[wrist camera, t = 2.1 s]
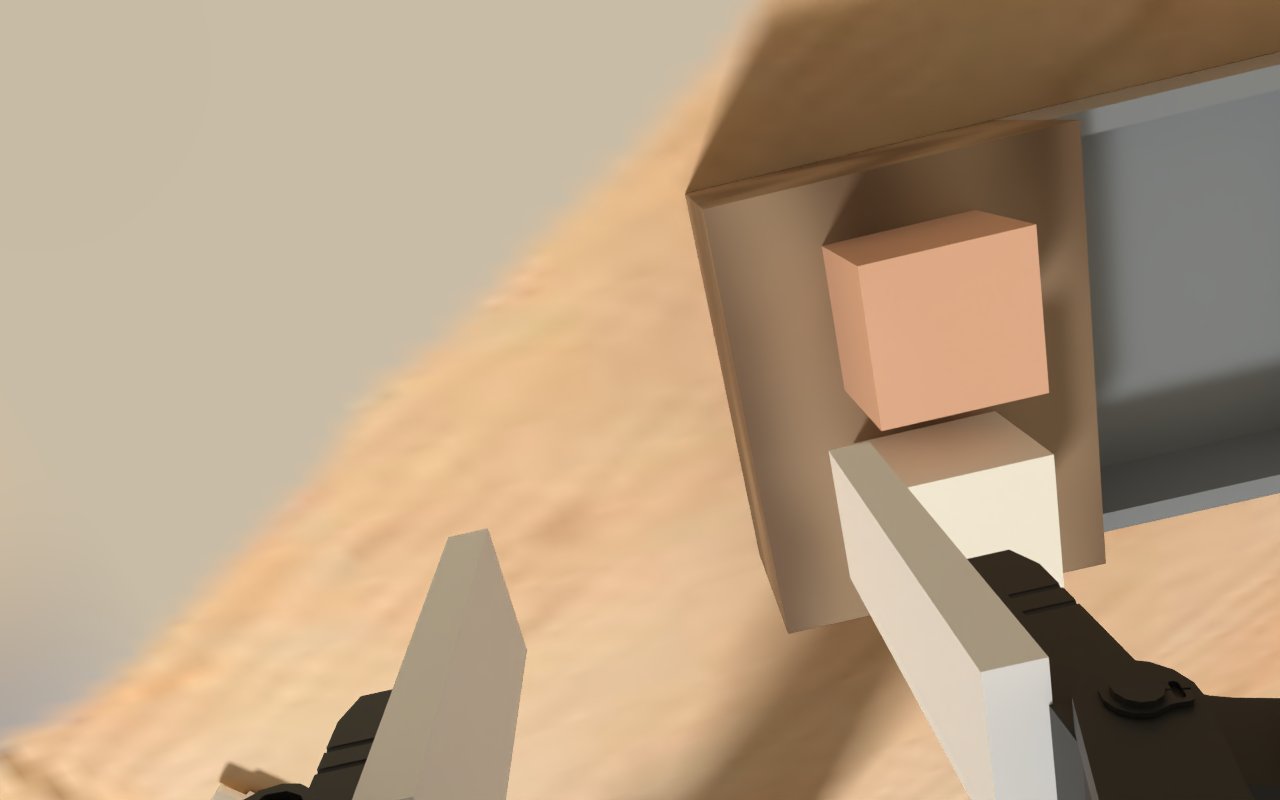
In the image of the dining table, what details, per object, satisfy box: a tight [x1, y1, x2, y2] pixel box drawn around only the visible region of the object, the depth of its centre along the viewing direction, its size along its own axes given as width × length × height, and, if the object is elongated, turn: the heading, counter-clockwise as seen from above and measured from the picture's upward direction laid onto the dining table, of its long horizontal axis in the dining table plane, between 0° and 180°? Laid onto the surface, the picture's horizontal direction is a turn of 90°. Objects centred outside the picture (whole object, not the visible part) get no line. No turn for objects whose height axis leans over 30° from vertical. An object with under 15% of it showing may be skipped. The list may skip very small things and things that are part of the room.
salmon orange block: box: [822, 210, 1049, 431], centre depth 26 cm, size 5×5×4 cm
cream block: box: [853, 411, 1064, 588], centre depth 28 cm, size 5×5×4 cm
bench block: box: [685, 120, 1106, 634], centre depth 32 cm, size 12×16×6 cm
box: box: [996, 52, 1280, 532], centre depth 32 cm, size 14×16×4 cm
